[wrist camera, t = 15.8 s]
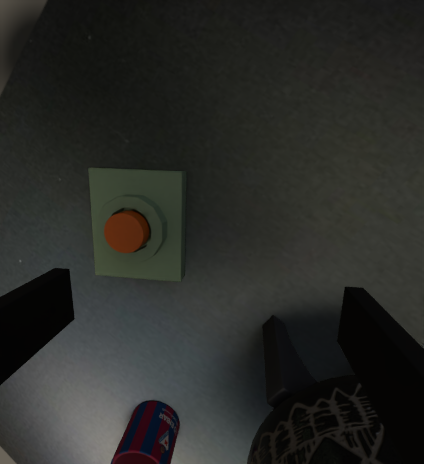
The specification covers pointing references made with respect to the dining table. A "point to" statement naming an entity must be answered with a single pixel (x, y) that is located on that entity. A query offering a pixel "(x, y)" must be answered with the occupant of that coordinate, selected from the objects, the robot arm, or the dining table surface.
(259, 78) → the dining table surface
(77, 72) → the dining table surface
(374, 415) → the planter
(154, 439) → the cup
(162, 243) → the block
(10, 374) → the robot arm
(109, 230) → the button
